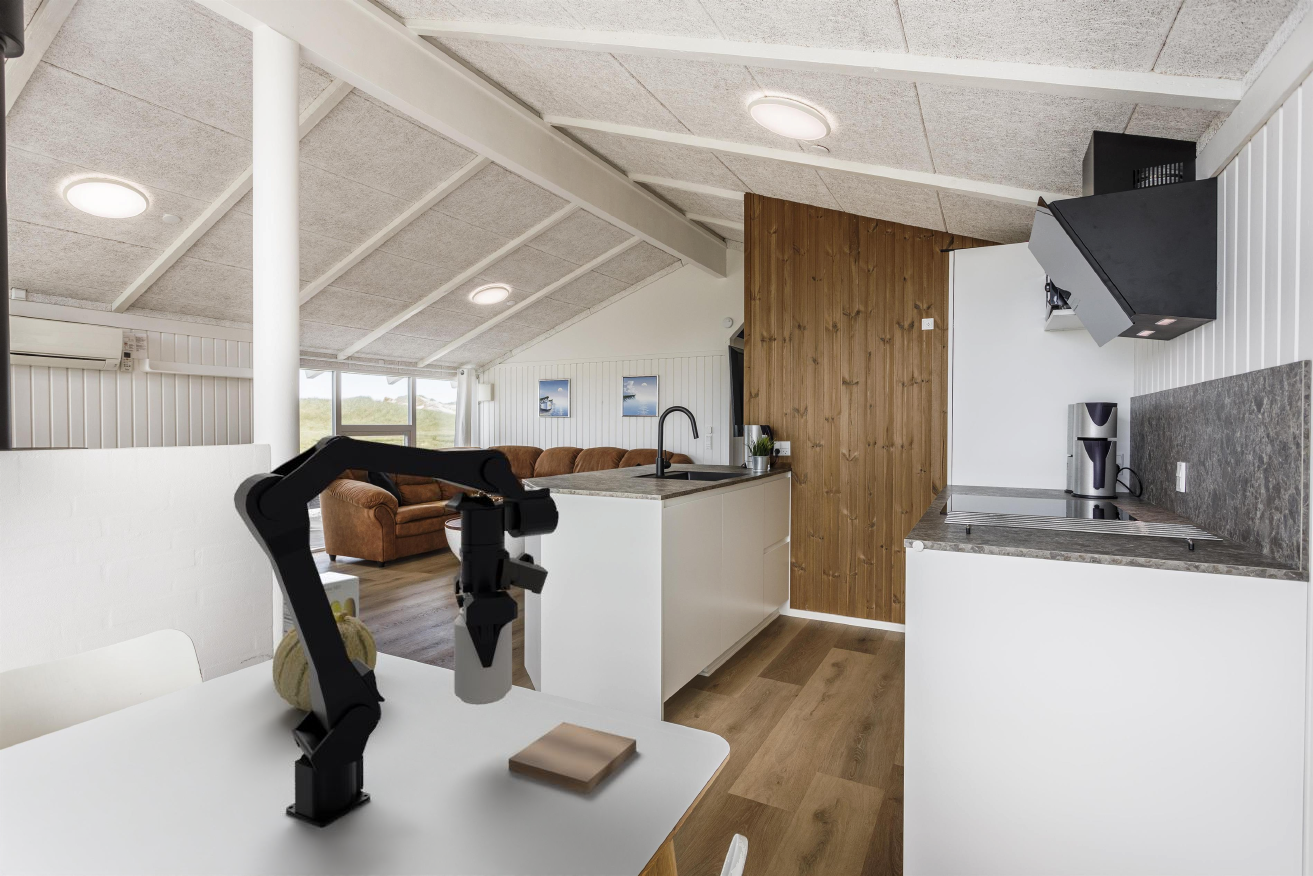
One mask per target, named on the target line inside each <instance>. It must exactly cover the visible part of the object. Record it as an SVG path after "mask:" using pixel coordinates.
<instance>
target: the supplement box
mask: <svg viewBox="0 0 1313 876" xmlns="http://www.w3.org/2000/svg"><path fill="white" fill-rule="evenodd" d="M319 575H320V578H321V581H322V584H323V586H324V589H325V592H326V595H327V598H328V600H329V603H330V606H331V609H332V612H333V613H343V612H344V611H348V613H349V616H351V617H355V618H356V619H358V620H360V577H359V576H356V575H351V574H344V573H340V572H333V571H327V572H322V573H319ZM292 627H294V624H293V621H292V619H291V616H290V613H289V611H288V608H287V605H286V603H285V600H284V597H283V596H282V638H283V637H284V636H285V635H286V634H287V632H288V631H289V630H290V629H291V628H292Z"/></svg>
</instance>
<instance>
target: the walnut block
mask: <svg viewBox="0 0 1313 876" xmlns="http://www.w3.org/2000/svg"><path fill="white" fill-rule="evenodd" d="M636 752H637V739H635V738H630V737H626V736H621V735H618V734H614V733H611V732H610V733H609V732H606V731H603V730H598V729H594V728H590V727H585V726H581V725H578V724H574V723H569V722H564V721H562V722H561V723H559V725H557V726H555V727H554V728H553V729H551V730H549V731H548V732H547V733H545V734H544V735H541V737H539V738H538V739H536V740H535V741H533V742H532V743H530V744H528V746H527V745H526V747H524V748H523V749H521V750H520V751H518V752H516V753H515V754H514V755H512V756H511V757H509V758H508V771H512V772H515V773H519V774H522V775H525V776H529V777H532V778H535V779H538V780H541V781H544V782H548V783H550V784H553V785H557V786H560V787H563V788H566V789H570V790H573V791H577V792H579V793H583V794H586V795H588V794H589V793H590V792H591V791H593V790H594V789H595V788H596V787H597V786H598V785H599V784H600V783H602V782H603V781H604V780H606V778H607V777H608V776H610V775H611V774H612V773H614V771H616V769H617V768H618V767H620V766H621V765H622V764H623V763H624V762H625V761H626V760H627V759H629V758H630V757H631V756H632V755H633V754H634V753H636Z"/></svg>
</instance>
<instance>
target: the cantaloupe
mask: <svg viewBox="0 0 1313 876" xmlns="http://www.w3.org/2000/svg"><path fill="white" fill-rule="evenodd" d="M333 614H334V617H335V620H336V623H337V626H338V628H339V631H340V634H341V637H342V640H343V642H344V645H345V648H346V651H347V654H348V656H349V659H350V660H351V661H352V660H353V659H355V658H356V657H357V658H359V659H360V660H361V661H362V662H364V663H365V664H366V665H367V666H369V667H370V668H371V669H372V670H373V671H374V672H375V668H376V664H377V657H378V653H377V652H378V651H377V650H378V648H377V644H376V640H375V637H374V635H373V634H372V632H371V630H370V629H369V627H367V625H366V624H365V623H363V622H362V620H360V619H359V620H358V619H356V618H355V617H351V616H349V613H348V611H344V612H343V613H333ZM272 681H273V684H274V687H275V689H276V692H277V693H278V695H279V696H280V697H281V698H282V699H283V700H285V701H286V702H287V703H288V704H290V706H293V707H295V708H297V709H300V710H303V711H306V712H309V711H310V709H311V708H312V702H311V696H310V669H309V664H308V662H307V659H306V656H305V654H304V651H303V648H302V646H301V643H300V640H299V637H298V635H297V632H296V629H295V627H292V628H291V629H290V630H289V631H288V632H287V634H286V635H285V636H284V637H283V636H282V639H281V641H280V642H279V644H278V645H277V648H276V650H275V652H274V655H273V660H272Z"/></svg>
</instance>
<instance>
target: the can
mask: <svg viewBox="0 0 1313 876" xmlns="http://www.w3.org/2000/svg"><path fill="white" fill-rule="evenodd" d="M458 612H459V613H460V614H459V615H458V616H457V617H456V618H455V620H454V621H453V626H454V627H453V632H454V633H453V636H454V637H453V643H454V644H453V645H454V647H453V648H454V650H453V652H454V653H453V654H454V655H453V656H454V658H453V659H454V661H453V663H454V667H453V669H454V671H453V673H454V677H453V678H454V682H453V683H454V685H453V687H454V695H455V696H456V697H457V698H459V699H460V700H461V701H462V702H463V703H465V704H469V705H478V706H479V705H487V704H492V703H495V702H498V701H500V700H502V699H504V698H505V697H506V695H507V694H508V693H509V692H510V691H511V690H512V687H513V635H512V633H513V627H512V626H513V620H512V621H511V622H509V623H507V624H506V625H505V626H504V627H503V628H502V629H501V632H500V635H499V639H498V643H497V647H496V651H495V655H494V659H493V663H492V666H491V667H488V668H483V667H482V664H481V662H480V659H479V657H478V654H477V651H476V649H475V646H474V644H473V642H472V639H471V637H470V634H469V631H468V629H467V626H466V624H465V621H464V619H463V617H464V610H463V607H462V608H461V609H460V608H459V610H458Z"/></svg>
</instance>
